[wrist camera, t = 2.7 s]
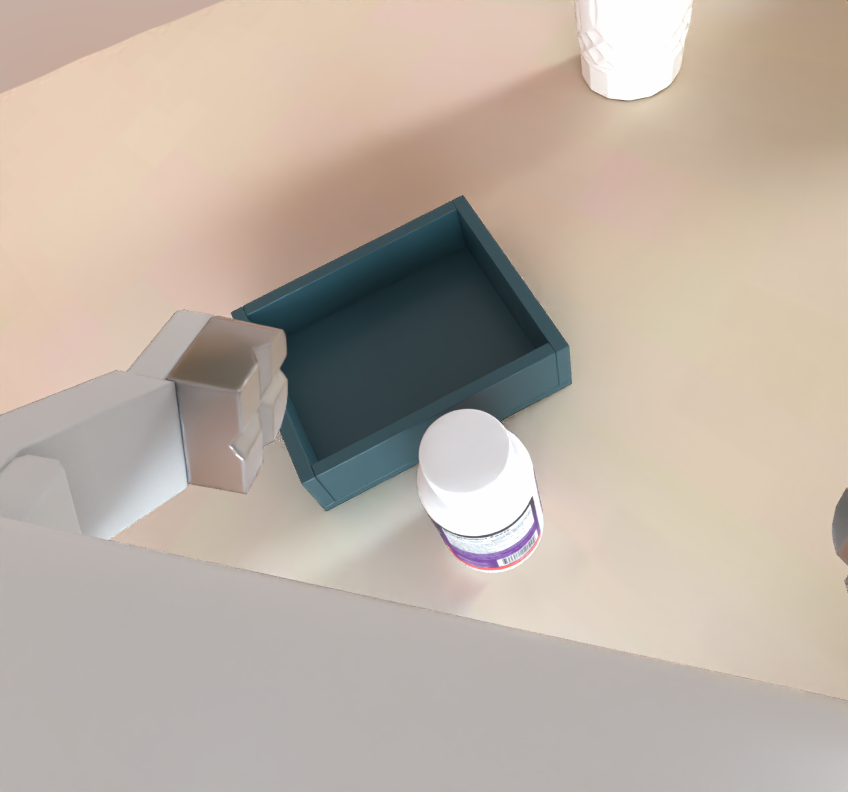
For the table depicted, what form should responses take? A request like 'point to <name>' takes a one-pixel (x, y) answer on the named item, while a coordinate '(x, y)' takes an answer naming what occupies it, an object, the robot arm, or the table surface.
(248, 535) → the table surface
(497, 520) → the pill bottle
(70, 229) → the table surface
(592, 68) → the white cup
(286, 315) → the tote
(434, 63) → the table surface
